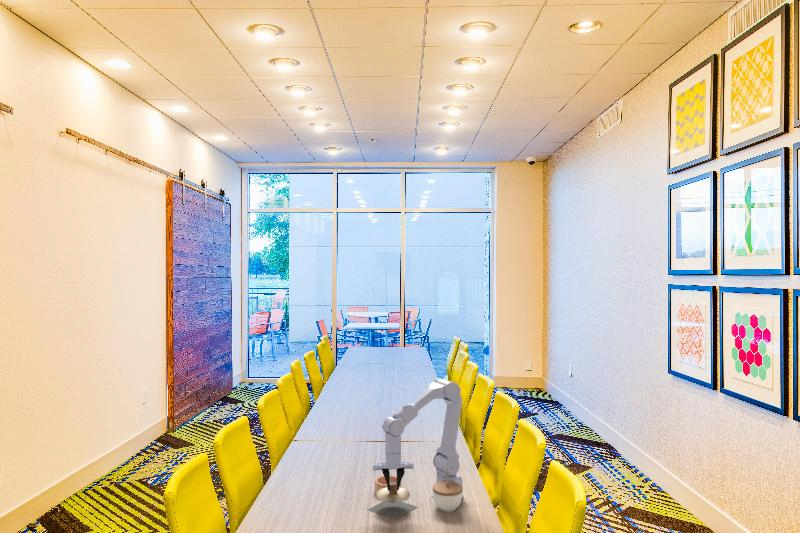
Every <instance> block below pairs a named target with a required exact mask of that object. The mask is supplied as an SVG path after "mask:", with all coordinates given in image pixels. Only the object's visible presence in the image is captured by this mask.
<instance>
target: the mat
mask: <svg viewBox="0 0 800 533" xmlns="http://www.w3.org/2000/svg"><path fill="white" fill-rule="evenodd" d="M418 508H419V507H418V506H416V505H413V504H410V503H406V502H405V501H402V502H397V503H389V502H384V501H380V502H379V503H378V504H376V505H373V506H372V507H369V508H367V511H369V512H372V513H375V514H378V515H381V516H383V517H386V518H389V519H392V520H394V521H397V520H399V519H400V518H402V517H404V516H405V515H407V514H409V513H411V512H413V511H414V510H416V509H418Z"/></svg>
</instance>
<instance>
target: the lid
mask: <svg viewBox="0 0 800 533" xmlns="http://www.w3.org/2000/svg"><path fill="white" fill-rule="evenodd" d="M375 494H376V499H377V500H379V501H380V502H383V501H384V502H389V503H397V502H405V501H408V500H409V498H410V497H411V492H410V491H409V490H408V489H407V488H403V487H402V488H400V487H399V490H397V483H396V482H390V491H388V489H387V487H386V488H382V489H380V490H378V491H377V493H375Z"/></svg>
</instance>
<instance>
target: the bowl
mask: <svg viewBox="0 0 800 533" xmlns="http://www.w3.org/2000/svg"><path fill="white" fill-rule="evenodd" d="M402 480H403V479H402ZM402 480H401V482H400V486H399V487H400V488H403V487H402V486H403V482H402ZM396 481H397V475H390V482H396ZM386 487H387V483H386V480H385V477H384V475H381V476H378V477H376V478H375V480H374V493H375V494H376V493H377V491H378V490H380V489H382V488H386Z"/></svg>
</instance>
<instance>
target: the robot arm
mask: <svg viewBox="0 0 800 533" xmlns="http://www.w3.org/2000/svg"><path fill="white" fill-rule="evenodd" d="M461 389H462V388H461V387H460V385H458V383H456V381H455V382H454V381H449V380H447V379H444V378H442V377H438V378H436V379H434V381H433V382H431V383H430V384H429V386H428V388H427V389H426V390H424V392H423V393H422V394H421V395H419V397H417V398H416V399H415V400H414V401H413V402H412V403H406V404H405V403H404V404H402V408H400V409H399V410H398V411H397V412H395V413H393V414H392V416H388V417H386V418H385V419H384V421H383V424H381V428H382V431H384V443H385V444H384V460H385V461H383V462H377V463H372V471H373V472H376V471H381V473H382V476H384V477H385V480H386V483H387V489H388V491H390V476H391V474H390V471H391V470H395V472H396V477H397V481H396V483H397V490H399V486H400V482H401V480H403V478H404V475H405V473H406V472H405V470H406V469H407V470H409V469H410V470H414V468H415V467H414V462H413V461H402V434H403V433H404V431H405V428H406V427H407V426H408V425H409V424H410V423H411V422H412V421H413V420H414V419H415V418H417V417H418V415H419V411H420V410H421V409H423V408H424V407H425V406H427V405H428V404H430V403H431V402H432V401H434V400H438V399H439V400H440V399H441V400H443V402H445V404H446V409H445V417H444V423H443V430H442V437H441V444H440V446H439V447H438V448H436V451H435V455H434V456H433V460H432V464H433V466H434V467H435V471H436V483H437V482H441V481H452V482H456V483H459V484H460V485H461V486H462V488H463V478H462V477H461V476H460V475H458V472H459V471H460V461H459V459H460V456H459V453H458V451H457V449H456V446H457V440H458V432H459V426H460V418H461V412H462V405H463V400H462V396H461ZM463 489H464V488H463ZM463 491H464V490H462V498H464V494H463V493H464V492H463ZM431 498H433V494H432V495H431Z"/></svg>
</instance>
